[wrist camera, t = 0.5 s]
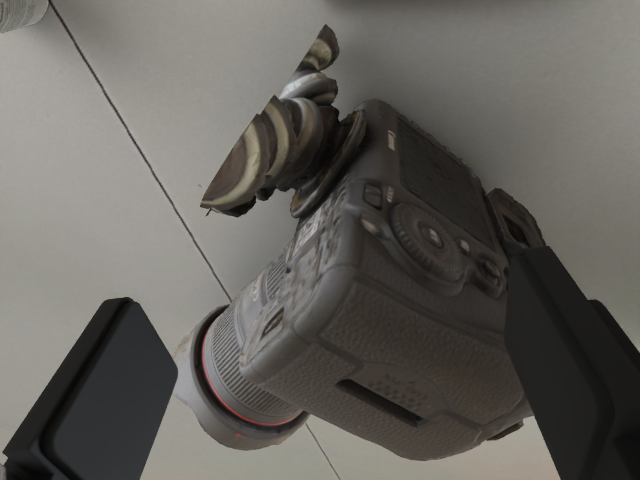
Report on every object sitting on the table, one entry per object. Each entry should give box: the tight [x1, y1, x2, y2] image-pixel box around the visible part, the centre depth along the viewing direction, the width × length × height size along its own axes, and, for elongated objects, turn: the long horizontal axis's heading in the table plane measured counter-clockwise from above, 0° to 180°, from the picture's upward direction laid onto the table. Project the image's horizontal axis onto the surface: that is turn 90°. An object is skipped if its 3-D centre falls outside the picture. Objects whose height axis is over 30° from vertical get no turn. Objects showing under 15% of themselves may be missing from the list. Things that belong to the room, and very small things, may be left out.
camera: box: [172, 24, 546, 461], centre depth 25 cm, size 25×18×18 cm
